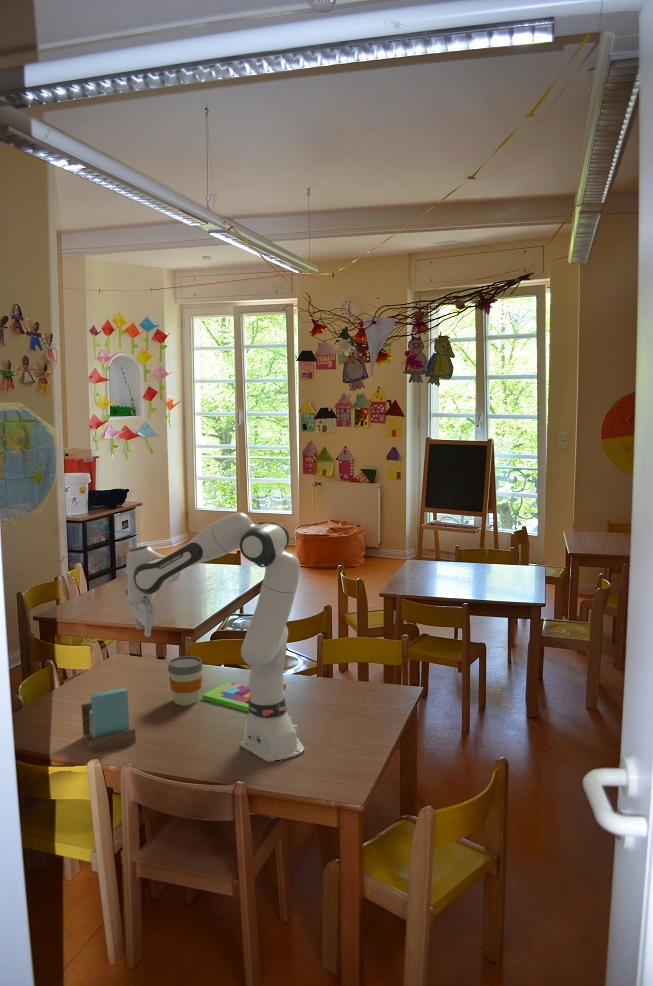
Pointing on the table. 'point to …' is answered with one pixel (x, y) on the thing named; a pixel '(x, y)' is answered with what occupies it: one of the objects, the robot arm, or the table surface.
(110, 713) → the teal book
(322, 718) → the table surface
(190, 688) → the reusable coffee cup
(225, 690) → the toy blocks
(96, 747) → the stand
